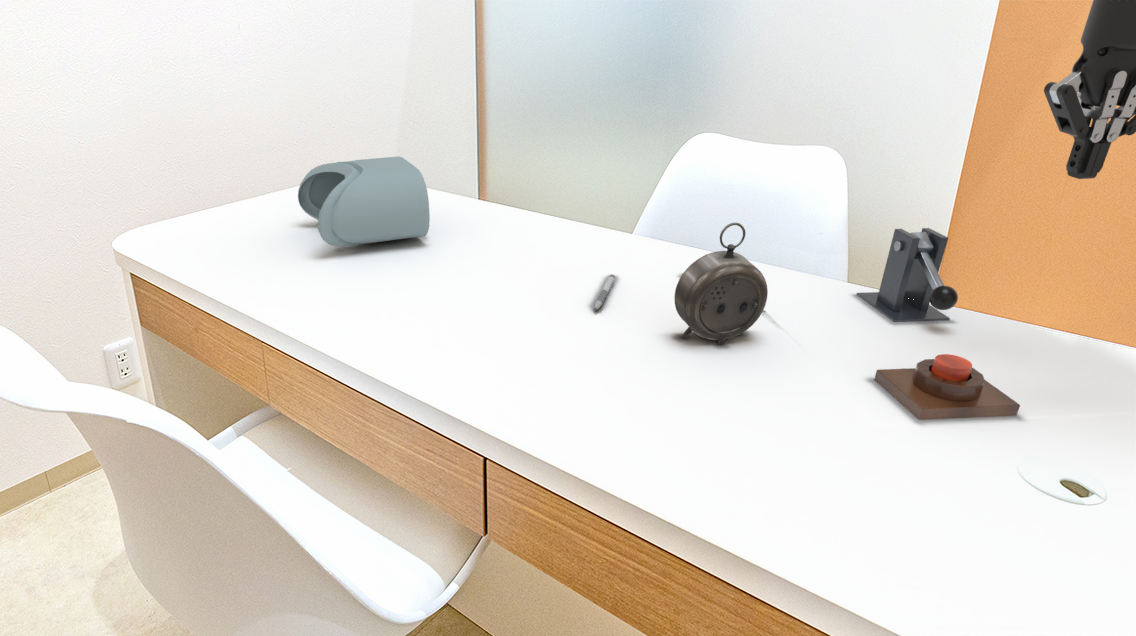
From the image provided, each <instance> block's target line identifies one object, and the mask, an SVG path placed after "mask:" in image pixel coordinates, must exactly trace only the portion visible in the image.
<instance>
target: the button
mask: <svg viewBox="0 0 1136 636" xmlns="http://www.w3.org/2000/svg"><path fill="white" fill-rule="evenodd" d="M933 359H934V363H933V366H932V369H931V372H932V373H933V374H934V375H936V376H938V377H941V378H943V379H947V380H952V381H958V382H959V381H967V380H968V378H969V375H970V372H971V369H972V368H973V364H972V363H973V362H971V361H970V360H968V359H967V358H965V357H962V356H959V355H956V354H948V353H942V354H941V353H940V354H937V355H935V357H934V358H933Z"/></svg>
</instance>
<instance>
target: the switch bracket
mask: <svg viewBox="0 0 1136 636" xmlns="http://www.w3.org/2000/svg"><path fill="white" fill-rule="evenodd" d="M920 232H926V233H927V235H928V237H929V239H930V241H931V243H932V245H933V247H934V248H933V249H932V250H931V252H930V253H929V256H930V258H931V260H932V262H933V264H934V266H935V268H936V270H937V272H938V273H939V272H940V269H941V265H942V261H943V258H944V256H945V255H944V254H945V251H946V247H947V244H948V241H949V237H948V236H946V235H945V234H942V233H940V232H938V231H935V230H933V229H932V228H930V227H922V228H921V231H920ZM919 240H920V238H918V237H916V236H914V235H913V234H911V232H909V231H906V229H903V228H894V231H893V235H892V238H891V242H890V245H889V246H890V247H889V251H888V254H887V259H886V262H885V267H884V270H883V274H882V278H881V281H880V286H879V289H878V291H874V292H873V291H871V292H870V291H869V292H857V293H856V296H857V297H858V298H860V299H862V300H863V301H864V302H865V303H867V304H868V305H870V306H871V307H872V308H874V309H875V310H876V311H878V312H879V313H880V314H882V315H883V316H884V317H886V318H887V319H889V320H890V321H891V322H893V323H912V322H914V323H915V322H941V321H943V322H944V321H945V322H946V321H950V320H951V318H950V317H949V316H947V315H946V314H944V313H943V312H941V311H940V310H938V309H936V308H934V307H933V306H932V305H931V303H930V300H929V297H930V294H931V292H932V291H933V289H932V287H931V285H930V283H929V281H928V279H927V277H926V275H925V273H924V271H923V269H922V267H921V265H920V263H919V261H918V259H914V258H915V255H916V251H917V247H918V244H919ZM908 298H909V299H908ZM913 299H914V300H913Z"/></svg>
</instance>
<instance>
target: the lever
mask: <svg viewBox="0 0 1136 636" xmlns="http://www.w3.org/2000/svg"><path fill="white" fill-rule="evenodd" d="M910 233H911V234H913V235H914V236H916V237H918V238H920V240H919V244H918V247H917V251H916V255H915V258H914V259H918V261H919V263H920V265H921V267H922V269H923V271H924V273H925V275H926V277H927V279H928V281H929V283H930V285H931V287H932V289H933V291H932V292H931V294H930V297H929V300H930V303H929V304H930V306H932V307H933V308H935V309H936V310H938V311H947V310H951V309H952V308H953V307H954V306H956V305H957V303H958V300H959V294H958V292H957V291H956V289H954V288H953V287H952V286H950V285H945V284H944V282H943V280H942V277H941V276H940V274H939V272H937V270H936V268H935V266H934V264H933V262H932V260H931V258H930V256H929V253H930V252H931V250H932V249H933V248H934V247H933V245H932V243H931V241H930V239H929V237H928V235H927V233H926V232H921V231H918V232H917V231H915V232H914V231H913V232H912V231H911V232H910Z"/></svg>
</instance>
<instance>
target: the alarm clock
mask: <svg viewBox="0 0 1136 636" xmlns="http://www.w3.org/2000/svg"><path fill="white" fill-rule="evenodd" d="M732 226H737V227H740V229H741V230H742V238H741V240H739V242H738V243H737V244H736V245H734V244H733V243H730V244H728V245H725V244H724V242H723V235H724V233H725V231H726V230H727V229H729V228H730V227H732ZM745 238H746V228H745V227H744V225H743V224H741V223H740V222H730V223H729V224H726V225H725V226H724V227H723V229H722V230H721V232H720V234H719V242H720V245H721V246H722V247H723V248H724V249H727V250H717V251H712V252H710V253H707V254H705V255H703V256H701V257H699V258H698V259H696V260H695V261H693V262H692V263H691V264H689V266H688V267H687V268H686V269H685V270H684V271H683V273H682V275H681V276H680V277H679V280H678V282H677V284H676V286H675V290H674V307H675V310H676V313H677V314H678V316H679V317H680V319H681V320H682V321H683V322H684V323H685V324H686V325H687V328H686V329H685V330H684V332H683V333H682V335H681V336H680V337H679V339H680V340H681V339H682V340H683V339H686V338H687V337H688V336H689V335H690V334H691V333H692V332H693V333H694V334H696V335H697V336H699V337H700V338H702V339H705V340H710V341H718V343H717V344H718V345H717V346H718V347H719V346H720V347H723V346H725V340H729V339H733V338H735V337H737V336H739V335H743V333H745V332H746V331H748V330H749V329H750V328H751V327H752V326H753V325H754V324H755V323H757V321H758V319H759V318H760V317H761V315H762V313H763V312H764V309H765V307H766V304H767V301H768V283H767V281H766V278H765V276H764V274H763V273H762V271H761V270H760V269H759V268H757V266H755V265H754V263H751V261H749V260H748V259H747V258H746V257H745V256H744V255H742V254H740V253H738V252H735V249H737V248H738V247H739V246H741V244H742V243H743V242H744V240H745Z"/></svg>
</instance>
